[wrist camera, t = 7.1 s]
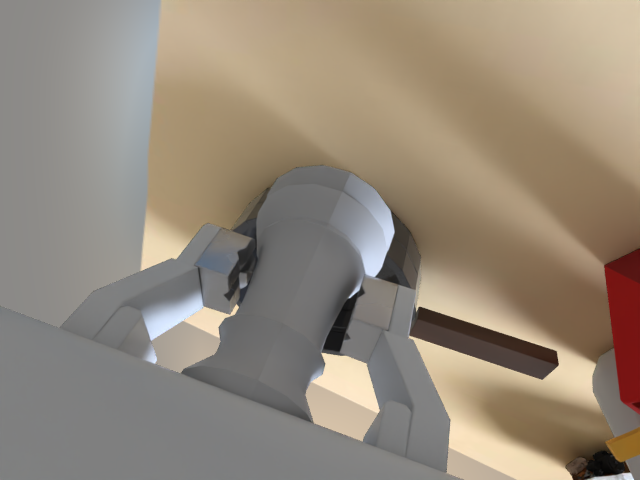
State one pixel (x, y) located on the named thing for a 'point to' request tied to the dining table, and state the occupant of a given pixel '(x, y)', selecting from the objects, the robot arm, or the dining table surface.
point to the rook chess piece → (298, 285)
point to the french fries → (626, 343)
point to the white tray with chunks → (598, 468)
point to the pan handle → (484, 343)
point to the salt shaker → (615, 404)
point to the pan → (396, 268)
